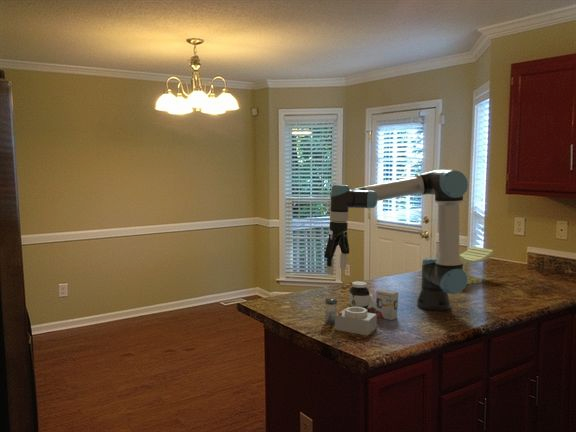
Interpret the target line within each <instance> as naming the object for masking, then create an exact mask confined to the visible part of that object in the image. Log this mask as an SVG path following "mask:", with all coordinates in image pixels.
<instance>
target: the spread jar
mask: <svg viewBox="0 0 576 432" xmlns="http://www.w3.org/2000/svg"><path fill="white" fill-rule="evenodd" d="M348 290H349V291H348V302H349V307H362V308H365V309H367V308H368V307H369V306H370V304H371V306H372V308H373V309H375V310H376V300H375V299H374V296H373V294H372V293H370V291H369V288H368V283H367V282H365V281H357V280H356V281H352V282H351V287H349V289H348Z"/></svg>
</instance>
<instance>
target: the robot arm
mask: <svg viewBox="0 0 576 432" xmlns="http://www.w3.org/2000/svg"><path fill="white" fill-rule="evenodd" d="M468 187H469V181H468V179H467V177H466V175H465V174H464V173H463V172H462V171H460V170H456V169H441V168H439V169H435V170H431V171H427V172H423V173H418V174H415V176H414V177H410V178H409V177H408V178H402V179H399V180H397V179H396V180H393V181H387V182H381V183H377V184H376V183H375V184H371V185H367V186H361V187H350V185H347V184H333V185H332V186H331V190H330V191H331V192H330V212H329V231H331V232H332V233H329V234H328V240H327V244H326V249H325V252H324V256H323V257H324V259H326V274H327V275H334V260H335V259H334V258H333V257H334V255H335V252H336V250H337V247H338V246H339V248H340V252H341V253H340V257H339V258H340V259H339V268H340V269H342V270H346V269H347V262H348V261H347V260H348V254H350V244H349V239H348V238H349V237H348V226H349V223H348V221H349V208H350V209H351V208H352V209H353V208H355V209H374V208H375V207H376V206H377V203H378V202H379V201H384V200H385V201H386V200H390V199H396V198H401V197H406V196H412V195H419V196H422V195H423V196H424V195H434V202H435V203H436V204H437V205H438V252H439V258H436V257H430V258H428V257H427V258H424V259H423V260H422V263H421V288H420V291H419V294H418V297H417V299H416V305H417V307H419V308H421V309H424V310H427V311H428V310H430V311H446V310H450V308H451V301H450V300H451V299H450V296H449V294H451V295H457V294H459V293H461V292H462V291H464V289H466V287H467V286H468V285H467V282H468V277H467V274H468V273H467V272H466V271H465V272H466V273H467V274H466V273H465V272H464V271H463V262H462V261H461V260H460V259H459V255H460V205H461V203H462V202H463V201H464V195H465V193H466V192H467V191H468Z"/></svg>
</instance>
